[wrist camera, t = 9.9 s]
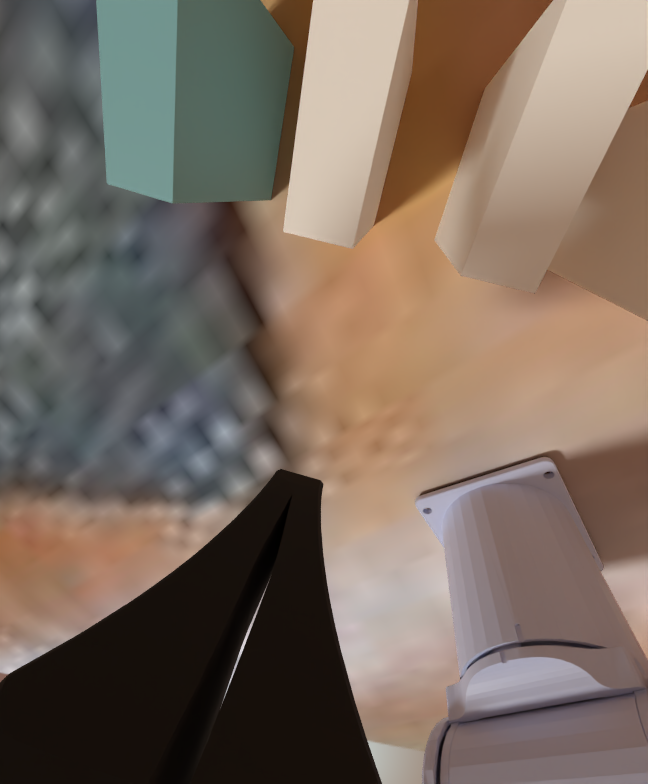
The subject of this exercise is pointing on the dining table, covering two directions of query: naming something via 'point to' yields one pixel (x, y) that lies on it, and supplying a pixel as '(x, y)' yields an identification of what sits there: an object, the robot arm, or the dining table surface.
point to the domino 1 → (192, 97)
